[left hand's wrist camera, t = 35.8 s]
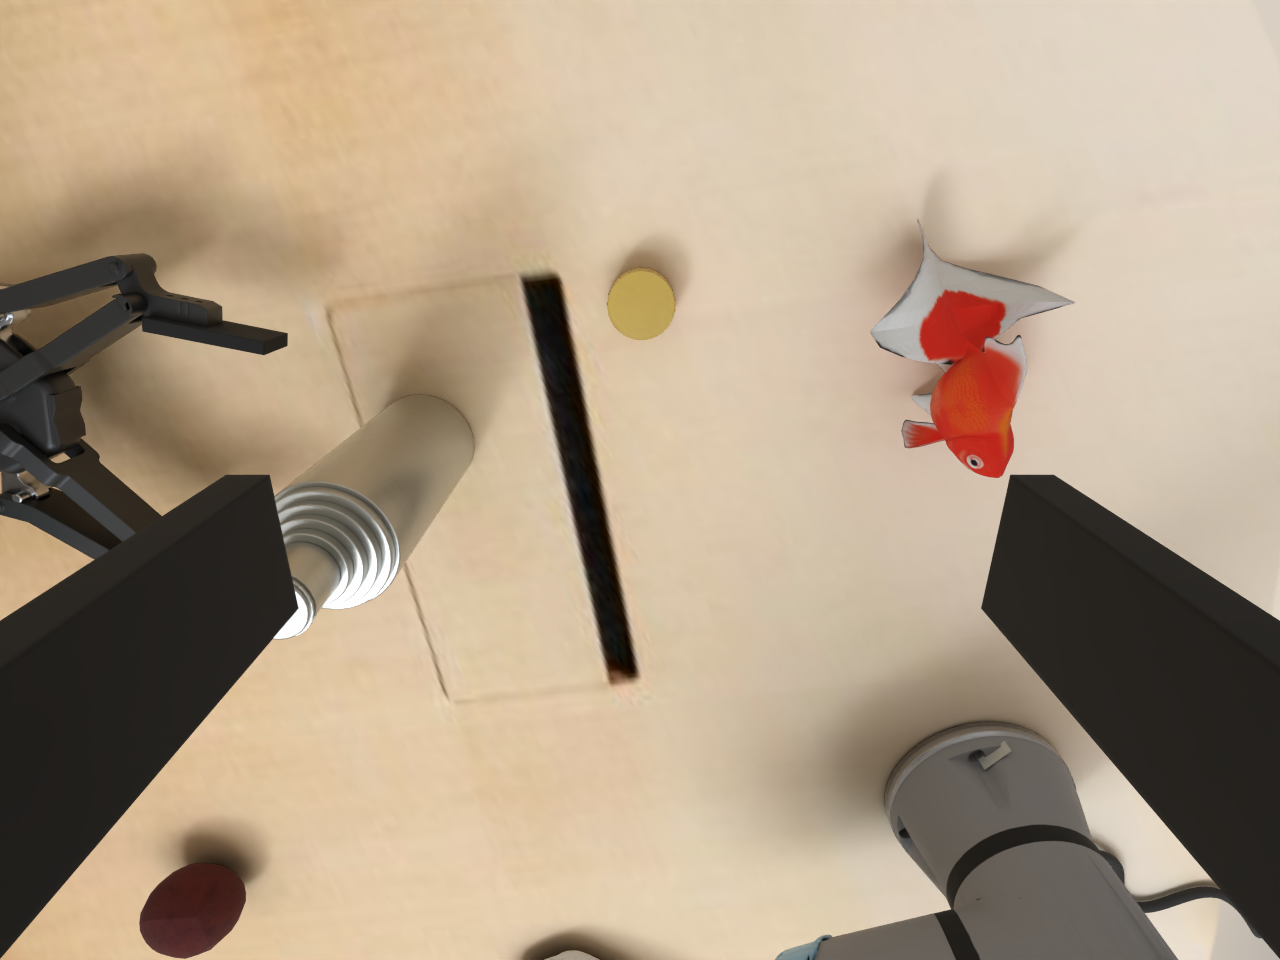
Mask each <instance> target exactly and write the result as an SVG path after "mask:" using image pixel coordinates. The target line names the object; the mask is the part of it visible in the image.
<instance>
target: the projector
mask: <svg viewBox="0 0 1280 960" xmlns="http://www.w3.org/2000/svg"><path fill="white" fill-rule="evenodd" d="M545 960H599V959H597V958H595V957H593V956H591V955H589V954H587V953H584V952H581V951H576V950H571V951H565V952H562V953H560V954H559V955H557V956H553V957H550V958H547V959H545Z"/></svg>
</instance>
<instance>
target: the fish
mask: <svg viewBox="0 0 1280 960" xmlns="http://www.w3.org/2000/svg"><path fill="white" fill-rule="evenodd" d="M917 222H918V225H919V228H920V231H921V234H922V237H923V261H922V263H921V265H920V268H919V270H918V272H917V275H916V277H915V279H914V281H913V282H912V284H911V285H910V286H909V288H908V289H907V291H906V292H905V294H904V295H903V297H902V298H901V299H900V300H899V302H898V303H897V304H896V305H895V306H894V307H893V308H892V309H891V310H890V311H889V312H888V313H887V314H886V315H885V316H884V317H883V318H882V319H881V320H880V321H879V323H878V324H877V325H876V326H875V327H874V328H873V329H872V330H871V331H870V333H871V335H872V336H873V338H874V339H875V341H876V342H877V343H878V345H879V346H880V348H882V349H885V350H887V351H890V352H892V353H895V354H897V355H899V356H902V357H905V358H909V359H912V360H916V361H921V362H928V363H936V364H937V365H939V366H940V367H941V368H942V369H943V371H944V372H945V374H944V375H943V376H942V377H941V378H940V380H939V381H938V383H937V384H936V387H935V389H934V391H933V394H923V395H914V396H913V397H912V399H913V401H914V402H915V403H916V404H918V405H919V406H920V407H922V408H923V409H925V410H926V411H927V412H928V413H929V414H930V415H931V417H932V420H933V422H934V423H924V422H914V421H910V420H905V421H904V423H903V427H902V435H903V439H904V445H905V448H914V447H921V446H925V445H928V444H932V443H936V442H939V441H943V440H945V441H946V444H947V446H948V448H949V449H950V450H951V451H952V452H953V453H954V454H955V456H956V457H957V458H958V459H959V460H960V461H961V462H962V463H963V464H964V465H965V466H966V467H967V468H968V469H970V470H972V471H973V472H975V473H978V474H980V475H983V476H987V477H993V478H999V477H1000V476H1002V475H1003V473H1004V471H1005V468H1006V466H1007V464H1008V462H1009V460H1010V457H1011V455H1012V453H1013V449H1014V438H1013V432H1012V429H1011V425H1010V422H1011V417H1012V411H1013V408H1014V406H1015V404H1016V402H1017V399H1018V397H1019V394H1020V391H1021V388H1022V385H1023V382H1024V379H1025V375H1026V372H1027V363H1026V354H1025V350H1024V346H1023V342H1022V338H1021V336H1020V335H1018V336H1017V337H1016V338H1015V340H1014V341H1013V342H1012V343H1010V344H1003V343H1000V342H998V341H997V340H995V339H996V338H997V337H998V336H999V335H1000V334H1002V333H1003V332H1004V331H1006V330H1007V329H1009V328H1010V327H1011V326H1012V325H1013V324H1014V323H1016V322H1017V321H1018V320H1019V319H1020V318H1023V317H1027V316H1031V315H1034V314H1038V313H1042V312H1045V311H1049V310H1053V309H1056V308H1059V307H1063V306H1066V305H1070V304H1073V303H1075V302H1073V301H1071V300H1069V299H1067V298H1064V297H1062V296H1060V295H1058V294H1055V293H1053V292H1051V291H1049V290H1046V289H1044V288H1042V287H1040V286H1037V285H1033V284H1029V283H1025V282H1020V281H1016V280H1012V279H1008V278H1004V277H1000V276H996V275H992V274H988V273H983V272H979V271H975V270H970V269H966V268H963V267H960V266H957V265H954V264H951V263H948V262H945V261H942V260H941V259H940V258H939V257H938V256H937V255H936V254H935V253H934V252H933V250H932V249H931V248H930V247H929V246H928V243H927V241H926V238H925V235H924V232H923V230H922V228H921V225H920V223H919V220H918V218H917ZM984 352H985V353H984Z"/></svg>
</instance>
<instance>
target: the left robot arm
mask: <svg viewBox="0 0 1280 960" xmlns="http://www.w3.org/2000/svg"><path fill="white" fill-rule="evenodd" d="M298 609H299V607H298V603H297V598H296V594H295V589H294V585H293V580H292V575H291V571H290V566H289V562H288V557H287V553H286V548H285V543H284V539H283V534H282V530H281V525H280V521H279V516H278V511H277V507H276V502H275V498H274V493H273V489H272V484H271V479H270V475H225V476H224V477H222V478H221V479H219V480H218V481H216V482H214V483H213V484H211V485H210V486H208V487H207V488H205V489H204V490H202V491H201V492H199V493H197V494H196V495H194V496H193V497H191V498H190V499H188V500H187V501H185V502H183V503H182V504H180V505H179V506H177V507H176V508H174V509H173V510H171V511H170V512H168V513H166V514H165V515H163V516H162V517H160V518H159V519H157V520H156V521H154V522H153V523H151V524H149V525H148V526H146V527H145V528H143V529H142V530H140V531H139V532H137V533H135V534H134V535H132V536H131V537H129V538H128V539H126V540H125V541H123V542H122V543H120V544H118V545H117V546H115V547H114V548H112V549H111V550H109V551H108V552H106V553H105V554H103V555H101V556H100V557H98V558H97V559H95V560H94V561H92V562H91V563H89V564H87V565H86V566H84V567H83V568H81V569H80V570H78V571H77V572H75V573H74V574H72V575H70V576H69V577H67V578H66V579H64V580H63V581H61V582H60V583H58V584H56V585H55V586H53V587H52V588H50V589H49V590H47V591H46V592H44V593H43V594H41V595H39V596H38V597H36V598H35V599H33V600H32V601H30V602H29V603H27V604H26V605H24V606H22V607H21V608H19V609H18V610H16V611H15V612H13V613H12V614H10V615H8V616H7V617H5V618H4V619H2V620H1V621H0V958H1V957H2V956H3V955H4V954H5V952H6V951H7V950H8V949H9V948H10V947H11V945H12V944H13V943H14V942H15V941H16V940H17V938H18V937H19V936H20V935H21V934H22V933H23V931H24V930H25V929H26V928H27V927H28V925H29V924H30V923H31V922H32V921H33V920H34V918H35V917H36V916H37V915H38V914H39V913H40V911H41V910H42V909H43V908H44V907H45V906H46V904H47V903H48V902H49V901H50V900H51V898H52V897H53V896H54V895H55V894H56V893H57V891H58V890H59V889H60V888H61V887H62V886H63V884H64V883H65V882H66V881H67V880H68V879H69V877H70V876H71V875H72V874H73V873H74V872H75V870H76V869H77V868H78V867H79V866H80V864H81V863H82V862H83V861H84V860H85V859H86V857H87V856H88V855H89V854H90V853H91V852H92V850H93V849H94V848H95V847H96V846H97V845H98V843H99V842H100V841H101V840H102V839H103V837H104V836H105V835H106V834H107V833H108V832H109V830H110V829H111V828H112V827H113V826H114V825H115V823H116V822H117V821H118V820H119V819H120V818H121V816H122V815H123V814H124V813H125V812H126V810H127V809H128V808H129V807H130V806H131V805H132V803H133V802H134V801H135V800H136V799H137V798H138V796H139V795H140V794H141V793H142V792H143V791H144V789H145V788H146V787H147V786H148V785H149V783H150V782H151V781H152V780H153V779H154V778H155V776H156V775H157V774H158V773H159V772H160V771H161V769H162V768H163V767H164V766H165V765H166V764H167V762H168V761H169V760H170V759H171V758H172V756H173V755H174V754H175V753H176V752H177V751H178V749H179V748H180V747H181V746H182V745H183V744H184V742H185V741H186V740H187V739H188V738H189V737H190V735H191V734H192V733H193V732H194V731H195V729H196V728H197V727H198V726H199V725H200V724H201V722H202V721H203V720H204V719H205V718H206V717H207V715H208V714H209V713H210V712H211V711H212V710H213V708H214V707H215V706H216V705H217V704H218V702H219V701H220V700H221V699H222V698H223V697H224V695H225V694H226V693H227V692H228V691H229V690H230V688H231V687H232V686H233V685H234V684H235V683H236V681H237V680H238V679H239V678H240V677H241V675H242V674H243V673H244V672H245V671H246V670H247V668H248V667H249V666H250V665H251V664H252V663H253V661H254V660H255V659H256V658H257V657H258V656H259V654H260V653H261V652H262V651H263V650H264V648H265V647H266V646H267V645H268V644H269V643H270V641H271V640H272V639H273V638H274V637H275V636H276V634H277V633H278V632H279V631H280V630H281V629H282V627H283V626H284V625H285V624H286V623H287V621H288V620H289V619H290V618H291V617H292V616H293V614H294V613H295V612H296V611H297V610H298ZM981 609H982V610H983V611H984V612H985V613H986V614H987V616H988V617H989V618H990V619H991V620H992V621H993V623H994V624H995V625H996V626H997V627H998V629H999V630H1000V631H1001V632H1002V633H1003V634H1004V636H1005V637H1006V638H1007V639H1008V640H1009V641H1010V643H1011V644H1012V645H1013V646H1014V647H1015V648H1016V650H1017V651H1018V652H1019V653H1020V654H1021V656H1022V657H1023V658H1024V659H1025V660H1026V661H1027V663H1028V664H1029V665H1030V666H1031V667H1032V668H1033V670H1034V671H1035V672H1036V673H1037V674H1038V675H1039V677H1040V678H1041V679H1042V680H1043V681H1044V683H1045V684H1046V685H1047V686H1048V687H1049V688H1050V690H1051V691H1052V692H1053V693H1054V694H1055V695H1056V697H1057V698H1058V699H1059V700H1060V701H1061V702H1062V704H1063V705H1064V706H1065V707H1066V708H1067V710H1068V711H1069V712H1070V713H1071V714H1072V715H1073V717H1074V718H1075V719H1076V720H1077V721H1078V722H1079V724H1080V725H1081V726H1082V727H1083V728H1084V729H1085V731H1086V732H1087V733H1088V734H1089V735H1090V737H1091V738H1092V739H1093V740H1094V741H1095V742H1096V744H1097V745H1098V746H1099V747H1100V748H1101V749H1102V751H1103V752H1104V753H1105V754H1106V755H1107V756H1108V758H1109V759H1110V760H1111V761H1112V762H1113V764H1114V765H1115V766H1116V767H1117V768H1118V769H1119V771H1120V772H1121V773H1122V774H1123V775H1124V776H1125V778H1126V779H1127V780H1128V781H1129V782H1130V783H1131V785H1132V786H1133V787H1134V788H1135V789H1136V791H1137V792H1138V793H1139V794H1140V795H1141V796H1142V798H1143V799H1144V800H1145V801H1146V802H1147V803H1148V805H1149V806H1150V807H1151V808H1152V809H1153V810H1154V812H1155V813H1156V814H1157V815H1158V816H1159V818H1160V819H1161V820H1162V821H1163V822H1164V823H1165V825H1166V826H1167V827H1168V828H1169V829H1170V830H1171V832H1172V833H1173V834H1174V835H1175V836H1176V837H1177V839H1178V840H1179V841H1180V842H1181V843H1182V845H1183V846H1184V847H1185V848H1186V849H1187V850H1188V852H1189V853H1190V854H1191V855H1192V856H1193V857H1194V859H1195V860H1196V861H1197V862H1198V863H1199V864H1200V866H1201V867H1202V868H1203V869H1204V870H1205V872H1206V873H1207V874H1208V875H1209V876H1210V877H1211V879H1212V880H1213V881H1214V882H1215V883H1216V884H1217V886H1218V887H1219V888H1220V889H1218V888H1214V887H1196V888H1190V889H1187V890H1183V891H1180V892H1177V893H1174V894H1171V895H1168V896H1165V897H1162V898H1159V899H1156V900H1152V901H1147V902H1136V901H1135V899H1134V898H1133V897H1132V895H1131V894H1130V892H1129V891H1128V890H1127V888H1126V887H1125V886H1124V870H1123V867H1122V865H1121V863H1120V862H1119V861H1118V860H1117V858H1115V857H1114V856H1113V855H1111V854H1109V853H1107V852H1104V851H1101V850H1098V848H1097V847H1096V845H1095V844H1094V842H1093V841H1092V838H1091V835H1090V832H1089V829H1088V825H1087V822H1086V819H1085V816H1084V813H1083V809H1082V806H1081V803H1080V800H1079V798H1078V795H1077V792H1076V787H1075V784H1074V781H1073V778H1072V776H1071V774H1070V771H1069V769H1068V767H1067V766H1066V764H1065V763H1064V761H1063V760H1062V759H1061V757H1060V756H1059V755H1058V753H1057V752H1056V751H1055V749H1054V748H1053V747H1052V746H1051V745H1050V744H1049V743H1048V742H1047V741H1046V740H1045V739H1044V738H1043V737H1041V736H1040V735H1038V734H1037V733H1035V732H1033V731H1031V730H1029V729H1026V728H1024V727H1021V726H1017V725H1013V724H1008V723H1001V722H979V723H970V724H965V725H961V726H957V727H953V728H950V729H948V730H945V731H942V732H940V733H938V734H935V735H934V736H932V737H930V738H928V739H926V740H925V741H923V742H921V743H920V744H919V745H917V746H916V747H915V748H913V749H912V750H911V751H910V752H909V753H908V754H906V756H905V757H904V758H903V759H902V760H901V761H900V762H899V764H898V765H897V766H896V768H895V769H894V771H893V772H892V774H891V776H890V778H889V781H888V783H887V786H886V791H885V810H886V814H887V817H888V819H889V822H890V824H891V827H892V829H893V832H894V834H895V836H896V838H897V840H898V841H899V843H900V844H901V845H902V847H903V848H904V850H905V851H906V852H907V853H908V854H909V855H910V857H911V858H912V859H913V860H914V861H915V862H916V864H917V865H918V866H919V867H920V868H921V869H922V870H923V872H924V873H925V874H926V875H927V876H928V877H929V878H930V880H931V881H932V882H933V883H934V884H935V885H936V887H937V888H938V889H939V890H940V891H941V892H942V893H943V895H944V896H945V897H946V899H947V901H948V903H949V905H950V907H951V910H947V911H943V912H939V913H934V914H929V915H925V916H921V917H917V918H912V919H908V920H904V921H900V922H895V923H891V924H887V925H883V926H878V927H874V928H870V929H866V930H861V931H857V932H853V933H849V934H844V935H840V936H836V937H832V936H831V935H823V936H821V937H819V938H818V939H817V940H816V941H814V942H811V943H808V944H805V945H801V946H798V947H794V948H791V949H788V950H785V951H783V952H782V953H780V954H779V955H778V956H777V958H776V959H775V960H1178V959H1177V957H1176V956H1175V955H1174V953H1173V952H1172V950H1171V949H1170V948H1169V946H1168V945H1167V944H1166V942H1165V941H1164V939H1163V938H1162V937H1161V935H1160V934H1159V933H1158V931H1157V930H1156V928H1155V927H1154V926H1153V924H1152V923H1151V921H1150V920H1149V919H1148V917H1147V916H1146V915H1145V913H1150V912H1156V911H1160V910H1164V909H1167V908H1170V907H1173V906H1176V905H1179V904H1182V903H1185V902H1188V901H1191V900H1195V899H1200V898H1208V897H1212V898H1219V899H1222V900H1224V901H1226V902H1227V903H1229V904H1230V905H1232V906H1233V907H1234V908H1235V909H1236V910H1237V911H1238V912H1239V913H1240V914H1241V916H1242V917H1243V918H1244V920H1245V921H1246V923H1247V925H1248V926H1249V928H1250V930H1251V931H1252V933H1253V934H1254V935H1255V936H1256V937H1258V938H1263V940H1264V941H1265V942H1266V943H1267V944H1268V945H1269V947H1270V948H1271V949H1272V950H1273V951H1274V952H1275V954H1276V955H1277V956H1278V957H1279V958H1280V621H1279V620H1278V619H1276V618H1275V617H1273V616H1272V615H1270V614H1268V613H1267V612H1265V611H1264V610H1262V609H1261V608H1259V607H1258V606H1256V605H1254V604H1253V603H1251V602H1250V601H1248V600H1247V599H1245V598H1244V597H1242V596H1241V595H1239V594H1237V593H1236V592H1234V591H1233V590H1231V589H1230V588H1228V587H1227V586H1225V585H1224V584H1222V583H1220V582H1219V581H1217V580H1216V579H1214V578H1213V577H1211V576H1210V575H1208V574H1206V573H1205V572H1203V571H1202V570H1200V569H1199V568H1197V567H1196V566H1194V565H1193V564H1191V563H1189V562H1188V561H1186V560H1185V559H1183V558H1182V557H1180V556H1179V555H1177V554H1175V553H1174V552H1172V551H1171V550H1169V549H1168V548H1166V547H1165V546H1163V545H1162V544H1160V543H1158V542H1157V541H1155V540H1154V539H1152V538H1151V537H1149V536H1148V535H1146V534H1145V533H1143V532H1141V531H1140V530H1138V529H1137V528H1135V527H1134V526H1132V525H1131V524H1129V523H1127V522H1126V521H1124V520H1123V519H1121V518H1120V517H1118V516H1117V515H1115V514H1114V513H1112V512H1110V511H1109V510H1107V509H1106V508H1104V507H1103V506H1101V505H1100V504H1098V503H1097V502H1095V501H1093V500H1092V499H1090V498H1089V497H1087V496H1086V495H1084V494H1083V493H1081V492H1079V491H1078V490H1076V489H1075V488H1073V487H1072V486H1070V485H1069V484H1067V483H1066V482H1064V481H1062V480H1061V479H1059V478H1058V477H1056V476H1055V475H1010V479H1009V484H1008V489H1007V493H1006V498H1005V502H1004V507H1003V511H1002V516H1001V521H1000V525H999V530H998V534H997V539H996V543H995V548H994V553H993V557H992V562H991V566H990V571H989V575H988V580H987V585H986V589H985V594H984V598H983V603H982V607H981ZM1111 867H1112V868H1111Z"/></svg>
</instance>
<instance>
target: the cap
mask: <svg viewBox="0 0 1280 960" xmlns="http://www.w3.org/2000/svg"><path fill="white" fill-rule="evenodd" d="M672 291H673V289H672V287H670V285H669V283H668V282H667V279H666V278H664V277H663V276H662V275H661V274H659V272H656V271H654V270H651V269H650V268H640V267H639V268H635V269H631V270H630V269H629V271H627V272H625V273H623V274H620V277H619V278H618V279H617V280H616V281H614V282H613V286H612V289H611V291H609V294H608V295H609V298H608V302H607V305H608V313H609V314H608V315H609V317H610V319H611V322H612V323H613V325H614V326H615V328H616V329H617V330H618V331H619V332H620V333H622V334H623V335H625V336H627V337H629V338H632V339H636V340H647V339H651V338H654V337H656V336H658V335H660V334H661V333H662V332H663V331H664V330H666V328H667V327H668V326H669V324H670V323H671V321H672V318H673V316H674V311H675V297H674V295H673V292H672Z"/></svg>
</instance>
